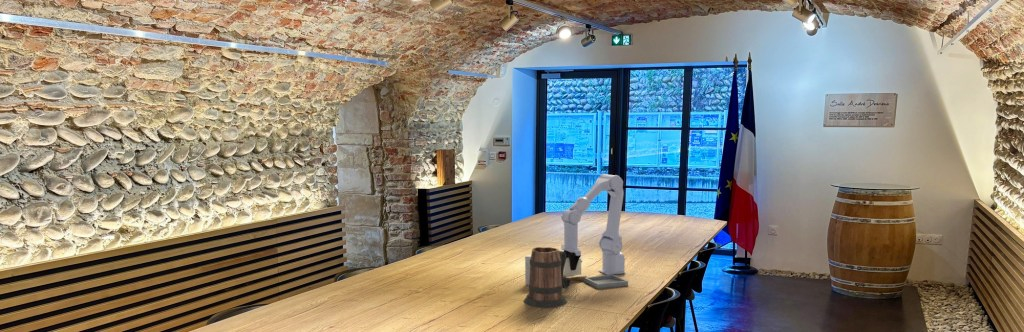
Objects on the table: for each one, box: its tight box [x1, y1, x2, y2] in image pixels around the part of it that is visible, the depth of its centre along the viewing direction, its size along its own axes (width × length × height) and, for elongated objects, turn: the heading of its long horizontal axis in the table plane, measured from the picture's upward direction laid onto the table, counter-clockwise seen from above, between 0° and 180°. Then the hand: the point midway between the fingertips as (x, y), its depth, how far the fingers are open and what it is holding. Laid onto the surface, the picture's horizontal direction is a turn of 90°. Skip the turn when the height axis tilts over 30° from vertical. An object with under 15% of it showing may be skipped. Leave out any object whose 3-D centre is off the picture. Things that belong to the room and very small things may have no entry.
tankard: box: [522, 246, 572, 309], centre depth 246 cm, size 24×17×20 cm
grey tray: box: [583, 274, 629, 290], centre depth 269 cm, size 14×12×2 cm
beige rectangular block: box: [563, 257, 583, 277], centre depth 277 cm, size 9×4×7 cm, turn 112°
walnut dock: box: [569, 275, 588, 284], centre depth 277 cm, size 10×12×2 cm
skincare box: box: [524, 254, 531, 286], centre depth 268 cm, size 6×4×12 cm
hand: (570, 268), depth 277 cm, fingers closed on beige rectangular block, 4 cm apart
